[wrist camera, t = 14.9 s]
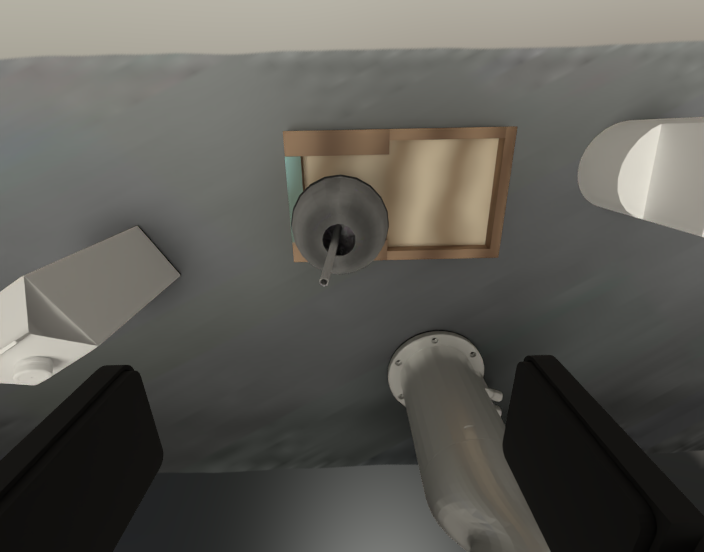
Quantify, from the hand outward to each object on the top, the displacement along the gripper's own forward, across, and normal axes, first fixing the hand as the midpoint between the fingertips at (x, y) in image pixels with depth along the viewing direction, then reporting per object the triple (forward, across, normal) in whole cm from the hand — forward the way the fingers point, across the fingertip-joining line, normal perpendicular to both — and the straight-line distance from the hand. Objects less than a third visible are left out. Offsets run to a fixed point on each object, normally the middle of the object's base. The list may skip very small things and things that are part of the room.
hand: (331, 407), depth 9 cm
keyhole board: (+32, -6, 0) cm, 32 cm away
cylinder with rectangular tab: (+32, -30, -3) cm, 44 cm away
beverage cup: (+30, 0, 0) cm, 30 cm away
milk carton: (+32, +24, +7) cm, 40 cm away
